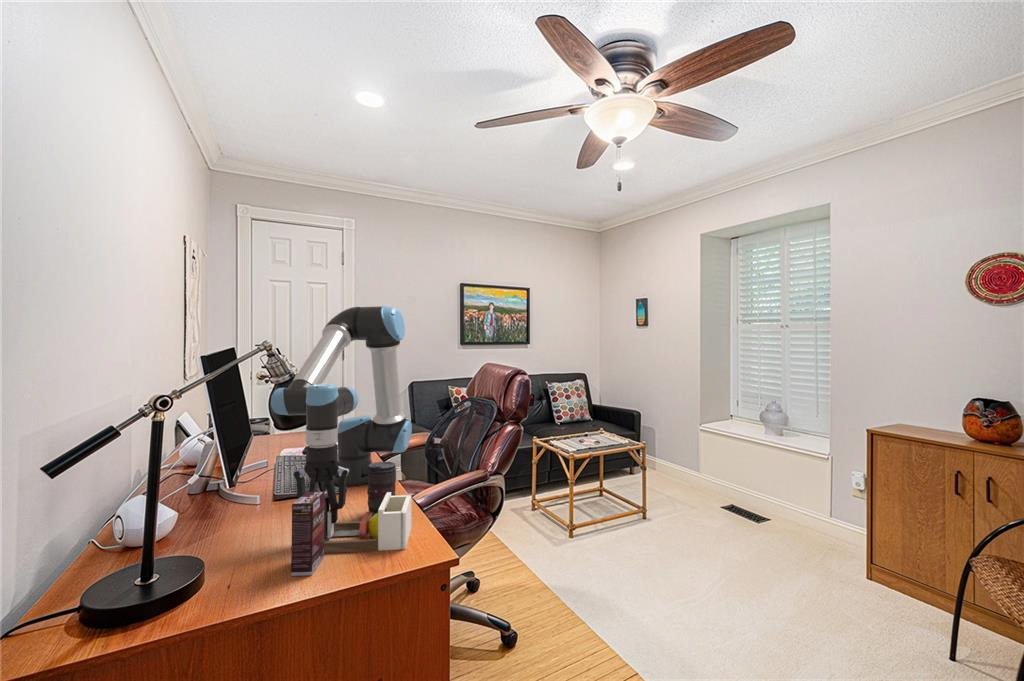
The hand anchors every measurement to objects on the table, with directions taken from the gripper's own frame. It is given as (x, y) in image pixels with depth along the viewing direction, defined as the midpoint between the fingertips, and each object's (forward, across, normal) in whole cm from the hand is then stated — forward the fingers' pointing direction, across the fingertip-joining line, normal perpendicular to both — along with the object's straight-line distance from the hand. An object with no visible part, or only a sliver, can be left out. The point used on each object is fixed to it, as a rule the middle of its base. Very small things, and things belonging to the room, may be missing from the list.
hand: (321, 535), depth 117 cm
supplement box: (+2, +1, -13) cm, 13 cm away
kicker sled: (+1, +5, 0) cm, 5 cm away
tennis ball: (+2, +15, 0) cm, 15 cm away
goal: (+1, +19, 0) cm, 19 cm away
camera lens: (+2, +12, +17) cm, 21 cm away
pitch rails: (+2, +7, 0) cm, 7 cm away
